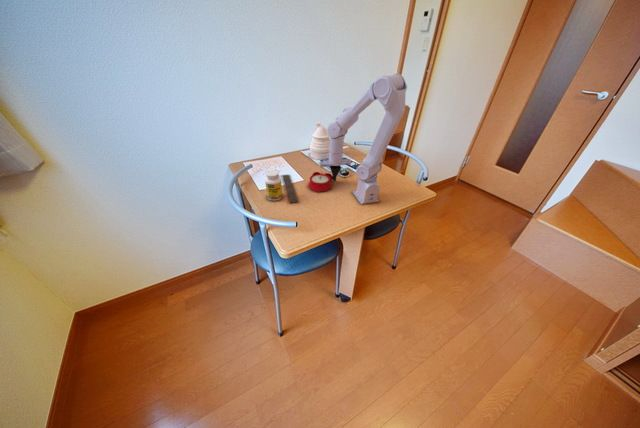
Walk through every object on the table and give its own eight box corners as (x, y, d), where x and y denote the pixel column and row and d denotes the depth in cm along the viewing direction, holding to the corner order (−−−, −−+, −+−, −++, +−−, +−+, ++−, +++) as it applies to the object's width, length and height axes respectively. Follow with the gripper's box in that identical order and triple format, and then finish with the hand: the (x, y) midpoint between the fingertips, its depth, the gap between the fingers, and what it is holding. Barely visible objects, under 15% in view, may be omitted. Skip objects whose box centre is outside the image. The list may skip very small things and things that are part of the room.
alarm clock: (305, 184, 93) (312, 163, 102) (306, 195, 98) (313, 173, 107) (329, 187, 91) (334, 165, 101) (329, 198, 96) (334, 176, 106)
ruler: (297, 202, 89) (297, 201, 88) (290, 203, 88) (290, 202, 88) (288, 175, 107) (288, 174, 107) (282, 176, 106) (282, 175, 106)
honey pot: (310, 159, 123) (310, 126, 112) (309, 150, 134) (309, 119, 123) (332, 159, 124) (335, 126, 113) (330, 150, 135) (331, 119, 124)
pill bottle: (268, 202, 88) (264, 177, 82) (266, 194, 93) (263, 170, 86) (283, 200, 90) (281, 175, 83) (281, 192, 94) (279, 168, 88)
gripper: (348, 147, 98) (345, 174, 106) (317, 149, 95) (316, 177, 103) (354, 152, 92) (351, 181, 101) (321, 155, 89) (320, 184, 97)
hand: (334, 180), depth 101 cm, fingers closed, pressing on alarm clock
